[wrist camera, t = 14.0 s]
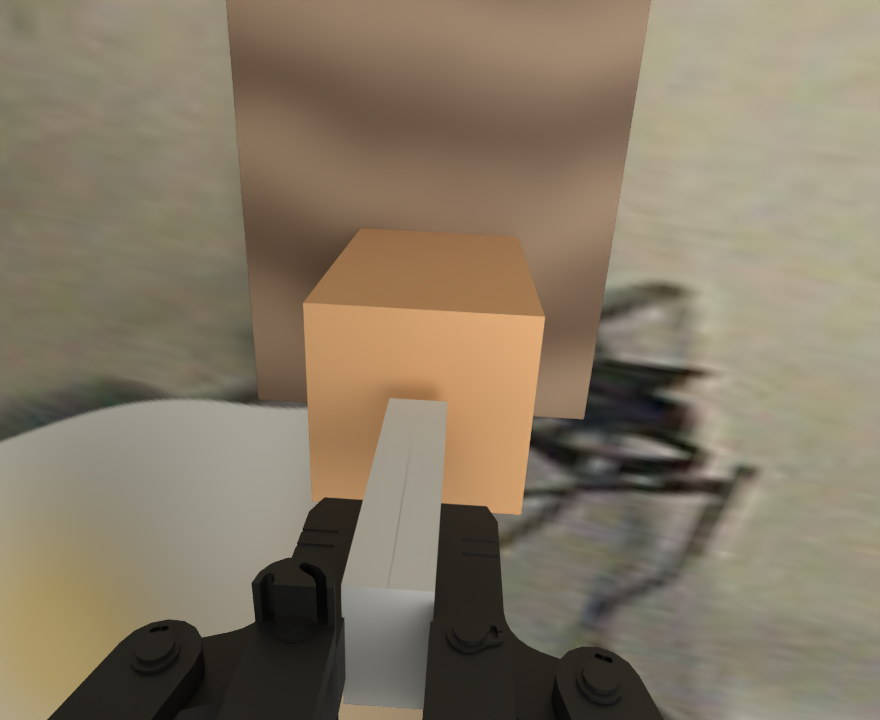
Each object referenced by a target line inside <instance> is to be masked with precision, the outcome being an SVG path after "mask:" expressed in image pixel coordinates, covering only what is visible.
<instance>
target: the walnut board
mask: <svg viewBox="0 0 880 720" xmlns="http://www.w3.org/2000/svg"><path fill="white" fill-rule="evenodd" d="M650 4H651V0H226V5H227V17H228V30H229V42H230V54H231V67H232V79H233V91H234V103H235V116H236V128H237V140H238V152H239V165H240V177H241V189H242V202H243V214H244V226H245V238H246V251H247V263H248V275H249V287H250V300H251V312H252V324H253V337H254V349H255V361H256V373H257V386H258V398H259V399H262V400H278V401H295V402H308V401H307V379H306V357H305V335H304V313H303V302H304V301H305V300H306V298H307V297H308V296H309V294H310V293H311V292H312V291H313V289H314V288H315V287H316V285H317V284H318V283H319V281H320V280H321V279H322V278H323V276H324V275H325V274H326V272H327V271H328V270H329V269H330V267H331V266H332V265H333V263H334V262H335V261H336V260H337V258H338V257H339V256H340V254H341V253H342V252H343V250H344V249H345V248H346V247H347V245H348V244H349V243H350V241H351V240H352V239H353V238H354V236H355V235H356V234H357V232H358V231H359V230H360V229H361V228H368V229H386V230H404V231H422V232H440V233H458V234H476V235H494V236H512V237H518V238H519V241H520V244H521V247H522V250H523V253H524V256H525V259H526V262H527V265H528V268H529V271H530V274H531V277H532V280H533V282H534V285H535V288H536V291H537V294H538V297H539V300H540V303H541V306H542V309H543V312H544V315H545V322H544V330H543V339H542V347H541V355H540V363H539V371H538V379H537V387H536V396H535V404H534V412H533V416H540V417H556V418H573V419H584V414H585V408H586V401H587V395H588V389H589V383H590V377H591V370H592V364H593V358H594V352H595V346H596V339H597V333H598V327H599V321H600V315H601V308H602V302H603V296H604V290H605V284H606V277H607V271H608V265H609V259H610V253H611V246H612V240H613V234H614V228H615V222H616V215H617V209H618V203H619V197H620V190H621V184H622V178H623V172H624V166H625V159H626V153H627V147H628V141H629V135H630V128H631V122H632V116H633V110H634V104H635V97H636V91H637V85H638V79H639V73H640V66H641V60H642V54H643V48H644V42H645V35H646V29H647V23H648V17H649V11H650Z"/></svg>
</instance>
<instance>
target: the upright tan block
mask: <svg viewBox="0 0 880 720" xmlns="http://www.w3.org/2000/svg"><path fill="white" fill-rule="evenodd" d="M303 313H304V335H305V357H306V379H307V401H308V422H309V444H310V466H311V489H312V501H315V502H320V501H321V500H322V499H323V498H324V497H328V498H344V499H359V500H363V499H364V495H365V491H366V487H367V483H368V479H369V475H370V471H371V468H372V464H373V460H374V456H375V452H376V448H377V444H378V440H379V437H380V433H381V429H382V425H383V421H384V417H385V413H386V410H387V406H388V402H389V398H397V399H413V400H430V401H446V402H448V403H447V420H446V437H445V454H444V471H443V489H442V503H445V504H461V505H476V506H487V507H488V509H489V510H490V512H491V513H502V514H518V515H521V510H522V501H523V493H524V485H525V477H526V469H527V461H528V453H529V444H530V436H531V428H532V420H533V412H534V404H535V396H536V387H537V379H538V371H539V363H540V355H541V347H542V339H543V330H544V322H545V315H544V312H543V309H542V306H541V303H540V300H539V297H538V294H537V291H536V288H535V285H534V282H533V280H532V277H531V274H530V271H529V268H528V265H527V262H526V259H525V256H524V253H523V250H522V247H521V244H520V241H519V238H518V237H512V236H494V235H476V234H458V233H440V232H422V231H404V230H386V229H368V228H361V229H360V230H359V231H358V232H357V234H356V235H355V236H354V238H353V239H352V240H351V241H350V243H349V244H348V245H347V247H346V248H345V249H344V250H343V252H342V253H341V254H340V256H339V257H338V258H337V260H336V261H335V262H334V263H333V265H332V266H331V267H330V269H329V270H328V271H327V272H326V274H325V275H324V276H323V278H322V279H321V280H320V281H319V283H318V284H317V285H316V287H315V288H314V289H313V291H312V292H311V293H310V294H309V296H308V297H307V298H306V300H305V301H304V302H303Z"/></svg>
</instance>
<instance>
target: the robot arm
mask: <svg viewBox="0 0 880 720" xmlns="http://www.w3.org/2000/svg"><path fill="white" fill-rule="evenodd" d="M447 403H448V402H446V401H430V400H413V399H397V398H389V402H388V406H387V410H386V413H385V417H384V421H383V425H382V429H381V433H380V437H379V440H378V444H377V448H376V452H375V456H374V460H373V464H372V468H371V471H370V475H369V479H368V483H367V487H366V491H365V495H364V499H363V500H359V499H344V498H328V497H324V498H323V499H322V500H321V501H320V502H319V503H318V504H317V505H316V506H315V507H314V508H313V509H311V510H310V511H309V514H308V516H307V519H306V522H305V524H304V527H303V532H301V535H300V537H299V540H298V543H297V547H296V548H295V550H294V553H293V556H292V558H286V559H283V560H280V561H277V562H274V563H272V564H270V565H269V566H267V567H266V568H265V569H263V570H262V571H260V572H259V574H258V575H257V576H256V578H255V579H254V581H253V582H252V592H253V602H254V611H255V622H254V623H252V624H250V625H248V626H246V627H244V628H242V629H239V630H235V631H232V632H228V633H223V634H218V635H213V636H208V637H203V638H202V637H201V636H200V634H199V632H198V631H197V629H196V628H195V627H194V626H192V625H190V624H188V623H187V622H185V621H178V620H164V621H158V622H153V623H150V624H148V625H146V626H144V627H141V628H140V629H137V630H135V631H134V632H132V633H131V634H130V635H129V636H127V637H126V638H125V639H124V640H123V641H121V643H119V644H118V645H117V647H115V649H114V650H113V651H112V652H111V653H110V654H109V655H108V656H107V657H106V658H105V659H104V660H103V661H102V662H101V663H100V664H99V665H98V667H97V668H96V669H95V670H94V671H93V672H92V673H91V674H90V675H89V676H88V677H87V678H86V679H85V681H83V682H82V684H81V685H80V686H79V687H78V688H77V689H76V690H75V691H74V692H73V693H72V694H71V695H70V696H69V697H68V698H67V699H66V701H65V702H64V703H63V704H62V705H61V706H60V707H59V708H58V709H57V710H56V711H55V712H54V713H53V714H52V715H51V716H50V717H49V718H48V720H338V712H339V708H340V703H341V698H342V694H343V692H344V704H355V705H368V706H382V707H397V708H410V709H423V720H664V719H663V717H662V716H661V714H660V712H659V710H658V708H657V707H656V705H655V703H654V701H653V700H652V698H651V696H650V694H649V692H648V691H647V689H646V687H645V685H644V684H643V682H642V680H641V678H640V676H639V675H638V674H637V673H636V671H635V670H634V669H633V668H632V666H631V665H630V664H629V663H628V662H627V661H625V660H624V659H622V658H621V657H620V656H618V655H617V654H615V653H613V652H611V651H608V650H605V649H602V648H599V647H579V648H576V649H574V650H571V651H568V652H567V653H566V654H565V655H564V656H563V657H562V658H561V659H559V658H556V657H553V656H550V655H547V654H545V653H542V652H539V651H537V650H535V649H533V648H531V647H529V646H527V645H526V644H525V643H523V642H522V641H520V640H519V639H518V638H517V637H516V636H515V635H514V634H513V632H512V631H511V630H510V628H509V626H508V624H507V623H506V620H505V616H504V609H503V594H502V580H501V565H500V550H499V535H498V522H497V521H496V519H495V518H494V516H493V515H492V513H491V512H490V510H489V509H488V507H487V506H476V505H461V504H445V503H442V489H443V471H444V454H445V437H446V420H447Z"/></svg>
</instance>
